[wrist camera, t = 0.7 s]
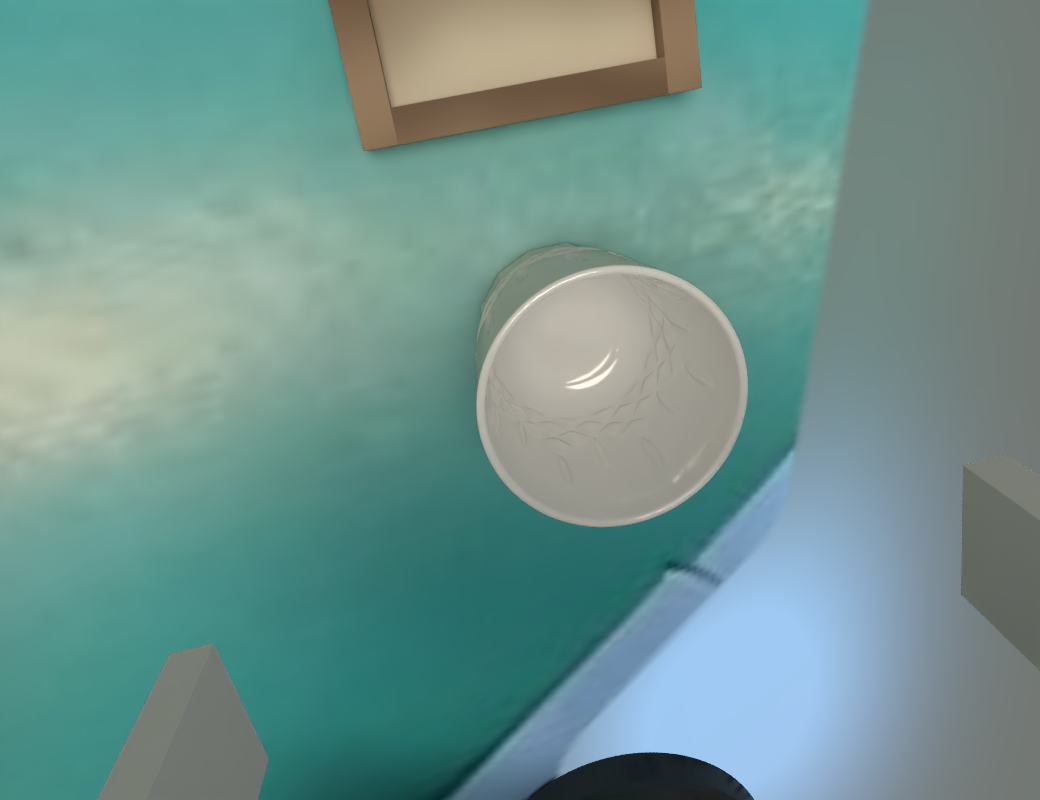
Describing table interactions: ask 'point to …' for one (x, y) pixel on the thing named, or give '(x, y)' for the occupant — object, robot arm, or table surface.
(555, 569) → the table surface
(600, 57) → the wooden divided tray
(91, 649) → the table surface
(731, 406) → the white cup
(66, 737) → the table surface
